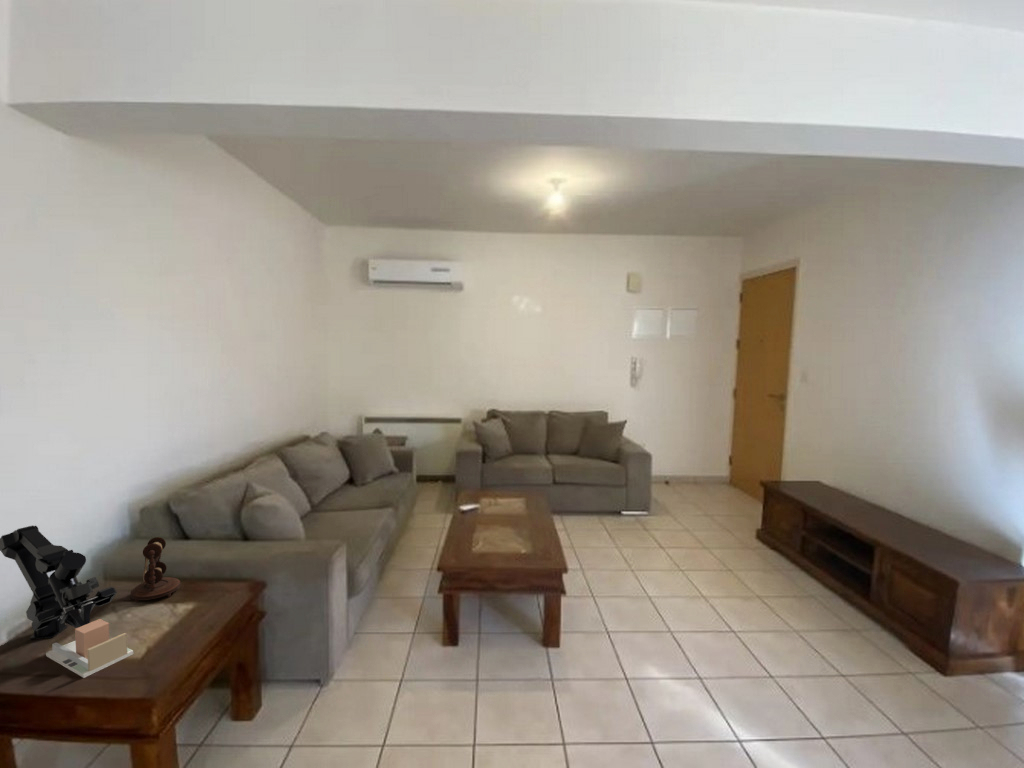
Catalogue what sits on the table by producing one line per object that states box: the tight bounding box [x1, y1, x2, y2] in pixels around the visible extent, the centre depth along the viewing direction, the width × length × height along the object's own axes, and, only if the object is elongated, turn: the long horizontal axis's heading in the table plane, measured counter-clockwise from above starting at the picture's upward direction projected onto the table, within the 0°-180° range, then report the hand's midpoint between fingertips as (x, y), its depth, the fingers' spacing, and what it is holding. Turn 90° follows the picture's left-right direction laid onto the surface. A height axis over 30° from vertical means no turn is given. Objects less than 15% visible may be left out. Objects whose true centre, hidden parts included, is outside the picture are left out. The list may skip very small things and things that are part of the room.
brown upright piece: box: [130, 536, 181, 603], centre depth 181 cm, size 15×15×20 cm
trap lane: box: [45, 632, 134, 679], centre depth 145 cm, size 21×12×7 cm, turn 64°
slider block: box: [74, 618, 111, 659], centre depth 144 cm, size 5×6×8 cm
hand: (87, 632), depth 145 cm, fingers closed, pressing on slider block
